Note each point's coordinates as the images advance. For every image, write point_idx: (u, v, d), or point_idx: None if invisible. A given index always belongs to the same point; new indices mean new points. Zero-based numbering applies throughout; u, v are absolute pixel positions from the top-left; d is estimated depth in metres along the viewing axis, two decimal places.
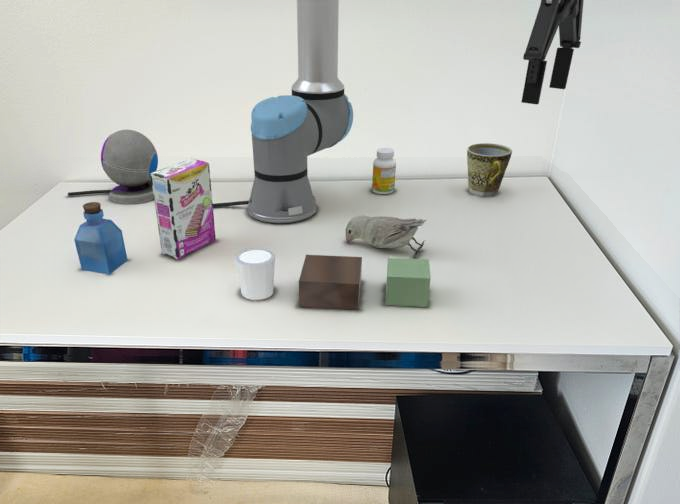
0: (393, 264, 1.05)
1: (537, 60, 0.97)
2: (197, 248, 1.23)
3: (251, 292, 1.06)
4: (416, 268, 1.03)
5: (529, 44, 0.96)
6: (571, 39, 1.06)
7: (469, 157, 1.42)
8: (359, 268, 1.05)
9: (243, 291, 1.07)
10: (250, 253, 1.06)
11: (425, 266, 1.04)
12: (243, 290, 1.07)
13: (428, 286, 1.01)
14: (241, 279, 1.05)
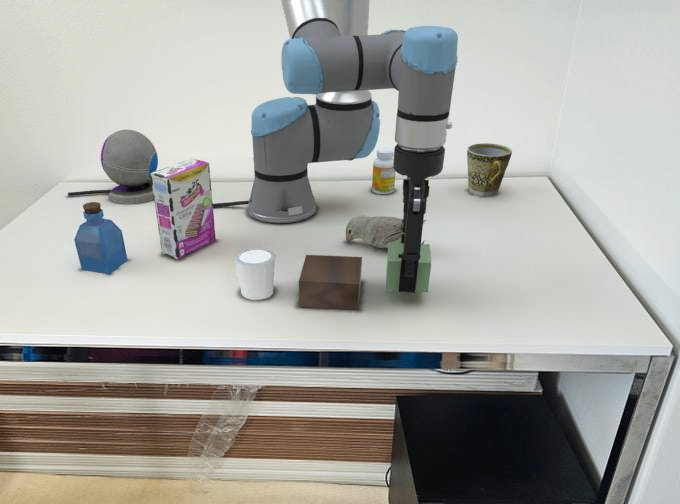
0: (393, 248, 1.04)
1: (414, 259, 0.97)
2: (197, 248, 1.23)
3: (251, 292, 1.06)
4: None
5: (406, 250, 0.95)
6: None
7: (469, 157, 1.42)
8: (359, 268, 1.05)
9: (243, 291, 1.07)
10: (250, 253, 1.06)
11: (426, 250, 1.03)
12: (243, 290, 1.07)
13: (429, 271, 1.00)
14: (241, 279, 1.05)
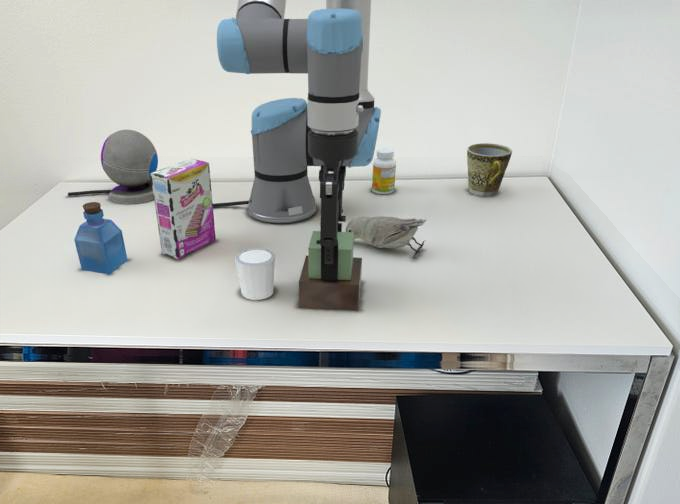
0: (316, 236, 1.03)
1: (332, 245, 0.96)
2: (197, 248, 1.23)
3: (251, 292, 1.06)
4: (339, 240, 1.01)
5: (322, 235, 0.94)
6: (338, 213, 1.03)
7: (469, 157, 1.42)
8: (359, 269, 1.05)
9: (243, 291, 1.07)
10: (250, 253, 1.06)
11: (348, 238, 1.02)
12: (243, 290, 1.07)
13: (350, 258, 0.99)
14: (241, 279, 1.05)
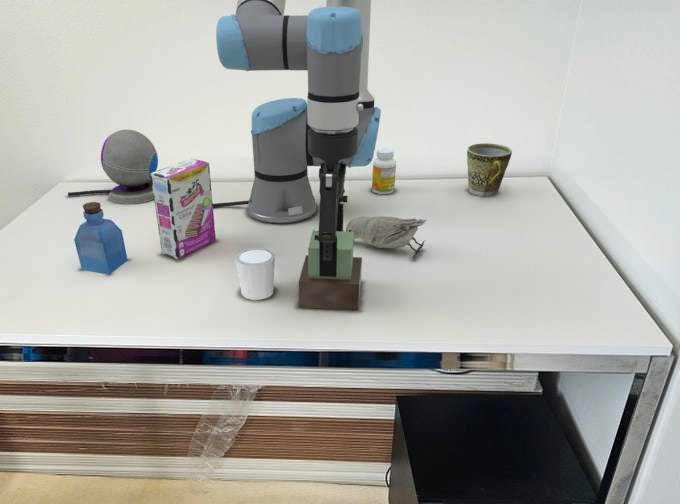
0: None
1: (330, 241, 0.93)
2: (197, 248, 1.23)
3: (251, 292, 1.06)
4: (339, 240, 1.01)
5: (320, 229, 0.91)
6: None
7: (469, 157, 1.42)
8: (359, 269, 1.05)
9: (243, 291, 1.07)
10: (250, 253, 1.06)
11: (348, 238, 1.02)
12: (243, 290, 1.07)
13: (350, 258, 0.99)
14: (241, 279, 1.05)
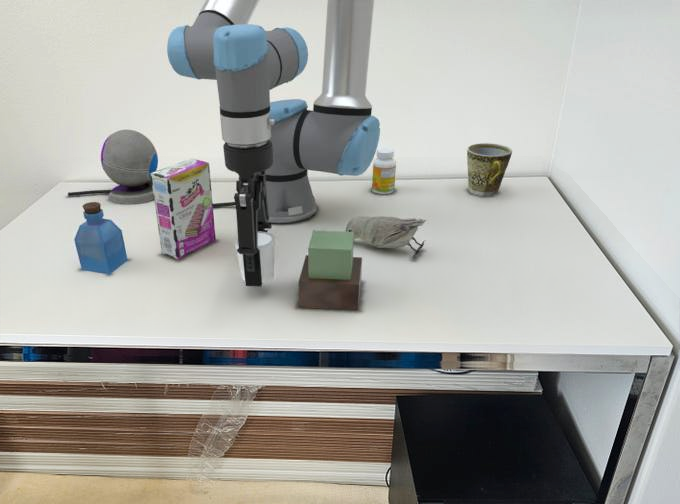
0: (316, 236, 1.03)
1: None
2: (197, 248, 1.23)
3: None
4: (339, 240, 1.01)
5: (240, 244, 0.97)
6: (263, 220, 1.05)
7: (469, 157, 1.42)
8: (359, 269, 1.05)
9: (243, 275, 1.05)
10: None
11: (348, 238, 1.02)
12: (243, 274, 1.05)
13: (350, 258, 0.99)
14: (241, 262, 1.04)
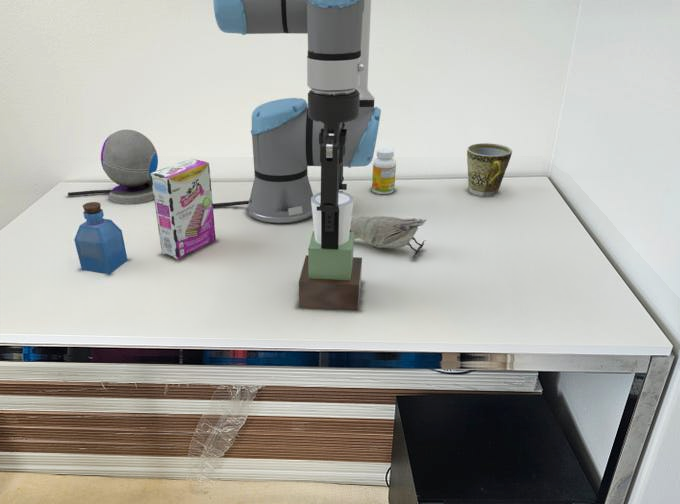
0: None
1: (332, 211, 0.93)
2: (197, 248, 1.23)
3: None
4: None
5: (322, 200, 0.91)
6: (339, 180, 1.00)
7: (469, 157, 1.42)
8: (359, 269, 1.05)
9: (318, 237, 1.00)
10: None
11: (349, 238, 1.02)
12: (318, 235, 0.99)
13: (350, 258, 0.99)
14: (317, 223, 0.98)
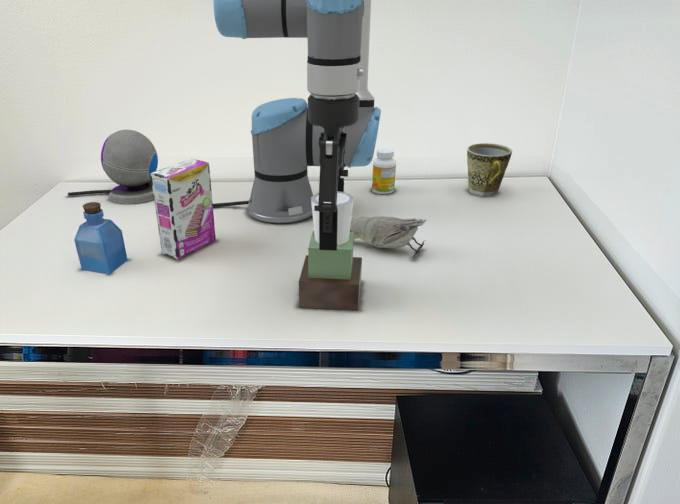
0: None
1: (331, 212, 0.90)
2: (197, 248, 1.23)
3: None
4: None
5: (320, 199, 0.88)
6: (340, 170, 1.01)
7: (469, 157, 1.42)
8: (359, 269, 1.05)
9: (318, 236, 1.00)
10: None
11: None
12: (318, 235, 0.99)
13: (350, 258, 0.99)
14: (317, 223, 0.98)
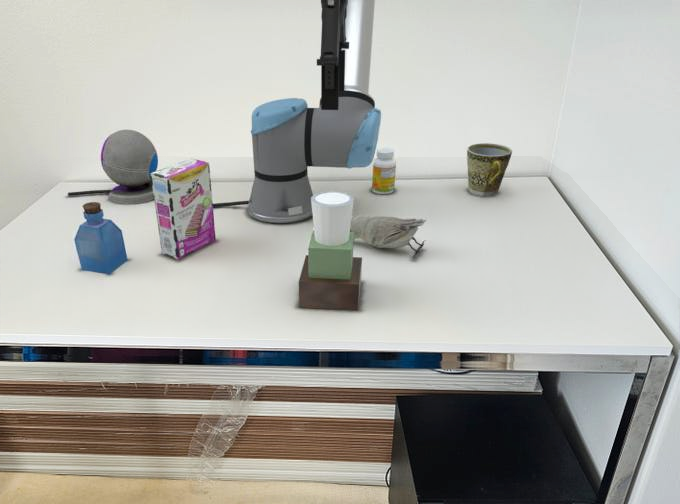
0: None
1: (332, 65, 0.93)
2: (197, 248, 1.23)
3: (328, 236, 0.98)
4: None
5: (322, 49, 0.91)
6: (342, 40, 1.04)
7: (469, 157, 1.42)
8: (359, 269, 1.05)
9: (318, 236, 1.00)
10: (326, 195, 0.99)
11: None
12: (318, 235, 0.99)
13: (350, 258, 0.99)
14: (317, 223, 0.98)
